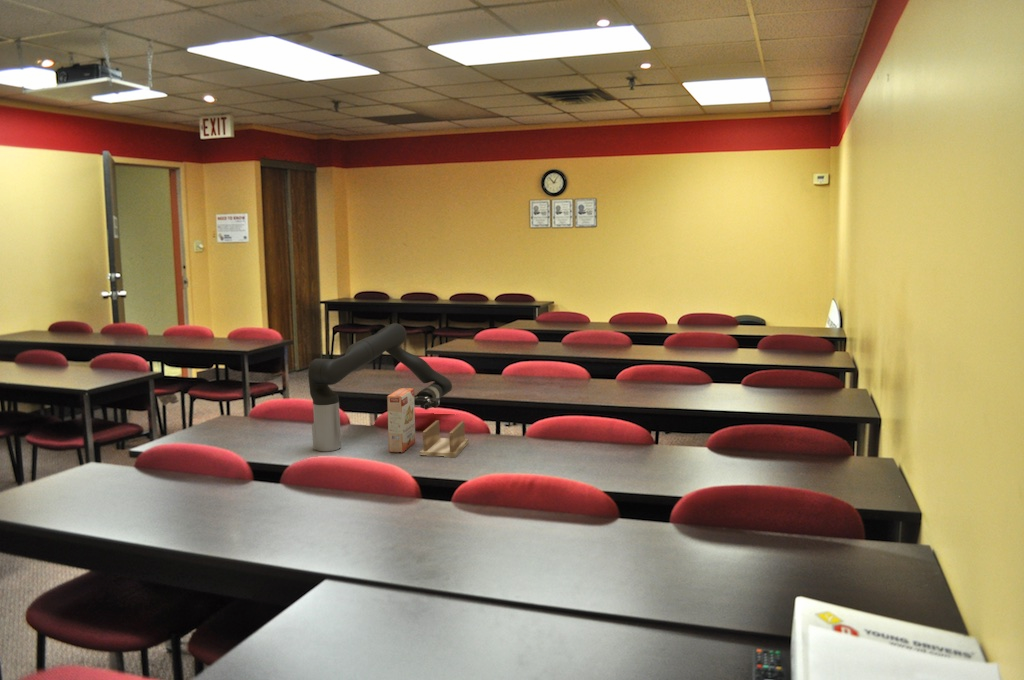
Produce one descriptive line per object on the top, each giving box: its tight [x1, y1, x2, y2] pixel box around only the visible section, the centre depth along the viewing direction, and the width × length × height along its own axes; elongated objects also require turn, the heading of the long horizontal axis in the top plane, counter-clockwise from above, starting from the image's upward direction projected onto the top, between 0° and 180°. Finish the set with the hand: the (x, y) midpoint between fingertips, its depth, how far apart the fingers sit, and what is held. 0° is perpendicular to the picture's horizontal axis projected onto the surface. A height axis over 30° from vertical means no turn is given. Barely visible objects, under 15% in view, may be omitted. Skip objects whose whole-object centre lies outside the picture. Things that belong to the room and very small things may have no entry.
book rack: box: [419, 419, 469, 458], centre depth 280 cm, size 13×18×8 cm
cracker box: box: [386, 387, 416, 454], centre depth 282 cm, size 14×6×21 cm, turn 168°
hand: (414, 406), depth 296 cm, fingers open, 8 cm apart
